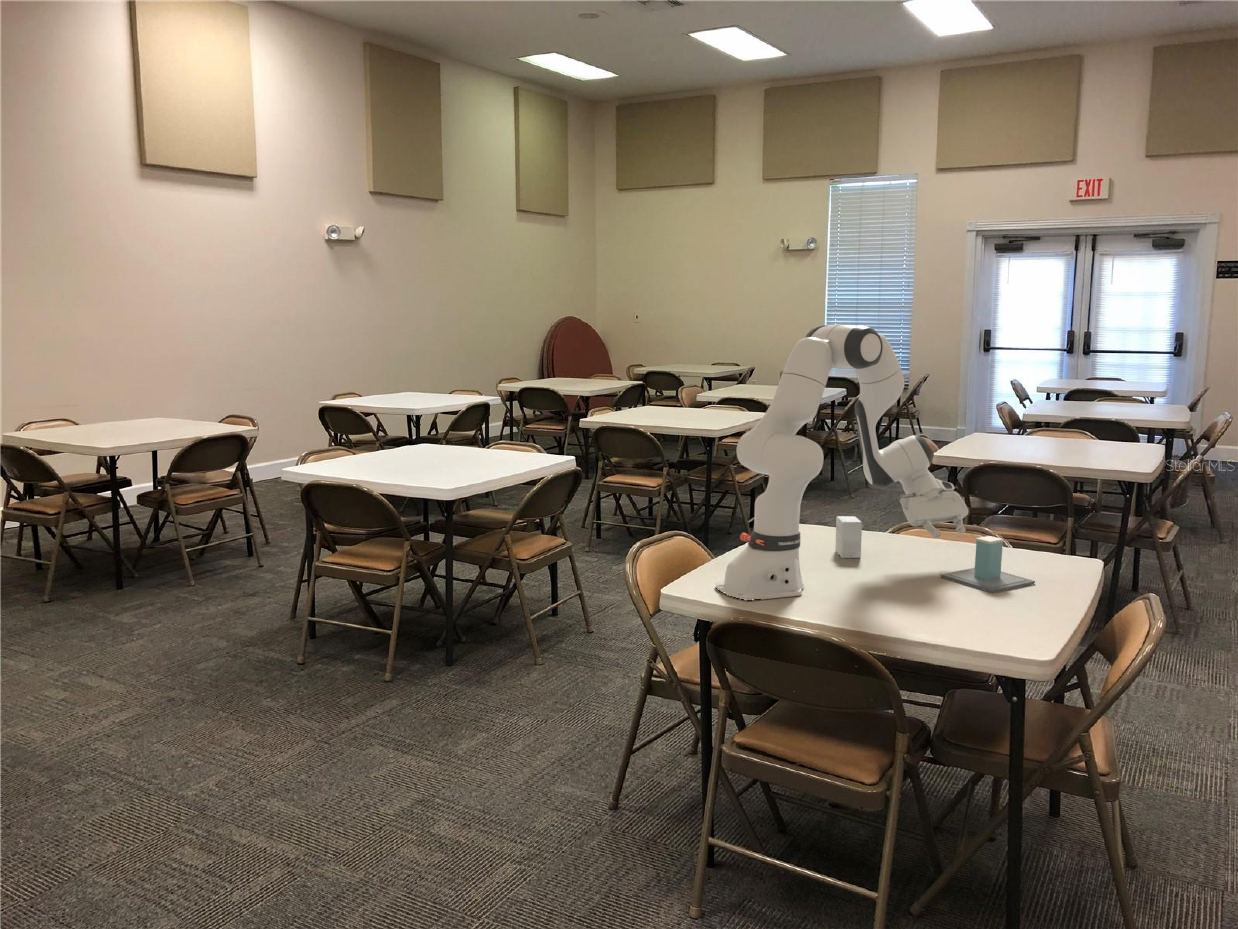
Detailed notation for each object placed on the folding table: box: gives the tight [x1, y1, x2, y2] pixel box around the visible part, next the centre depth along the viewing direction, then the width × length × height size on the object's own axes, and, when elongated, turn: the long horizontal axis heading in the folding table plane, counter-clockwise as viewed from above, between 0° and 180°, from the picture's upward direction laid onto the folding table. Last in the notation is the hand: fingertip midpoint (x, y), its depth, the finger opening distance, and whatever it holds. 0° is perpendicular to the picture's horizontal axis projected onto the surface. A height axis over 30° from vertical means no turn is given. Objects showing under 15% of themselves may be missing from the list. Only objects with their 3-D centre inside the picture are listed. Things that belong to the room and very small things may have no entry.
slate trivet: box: [940, 567, 1036, 594], centre depth 231 cm, size 16×16×1 cm
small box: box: [834, 515, 863, 559], centre depth 256 cm, size 8×6×10 cm
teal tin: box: [974, 535, 1005, 581], centre depth 230 cm, size 5×4×10 cm
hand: (950, 534), depth 240 cm, fingers open, 8 cm apart
